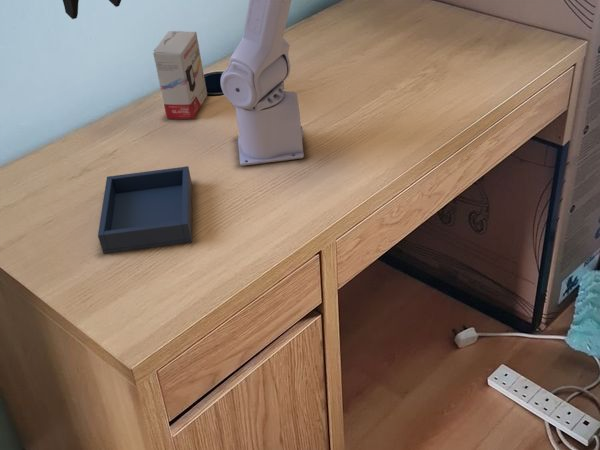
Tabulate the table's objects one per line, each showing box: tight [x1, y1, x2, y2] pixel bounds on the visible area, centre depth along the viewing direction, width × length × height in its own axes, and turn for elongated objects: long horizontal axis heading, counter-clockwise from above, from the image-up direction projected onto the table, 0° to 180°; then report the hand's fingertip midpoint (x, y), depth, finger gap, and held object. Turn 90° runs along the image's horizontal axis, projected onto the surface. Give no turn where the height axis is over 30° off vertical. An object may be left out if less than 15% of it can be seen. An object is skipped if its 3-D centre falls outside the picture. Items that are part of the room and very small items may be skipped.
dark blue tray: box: [97, 166, 193, 255], centre depth 107 cm, size 12×14×3 cm
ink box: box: [152, 30, 208, 120], centre depth 129 cm, size 9×5×12 cm, turn 168°
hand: (92, 9), depth 121 cm, fingers open, 7 cm apart
